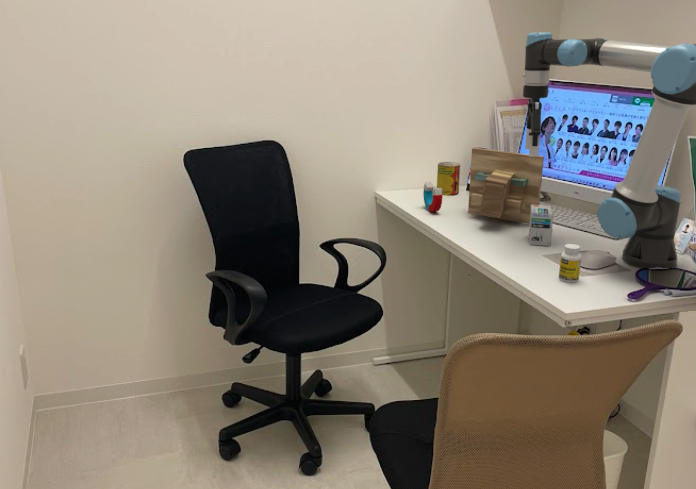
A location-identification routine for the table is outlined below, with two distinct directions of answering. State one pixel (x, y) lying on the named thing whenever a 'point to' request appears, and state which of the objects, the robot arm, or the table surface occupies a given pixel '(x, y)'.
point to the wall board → (521, 186)
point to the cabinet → (496, 193)
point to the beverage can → (448, 178)
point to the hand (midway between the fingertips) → (531, 152)
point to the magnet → (432, 197)
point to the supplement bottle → (570, 263)
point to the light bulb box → (540, 225)
